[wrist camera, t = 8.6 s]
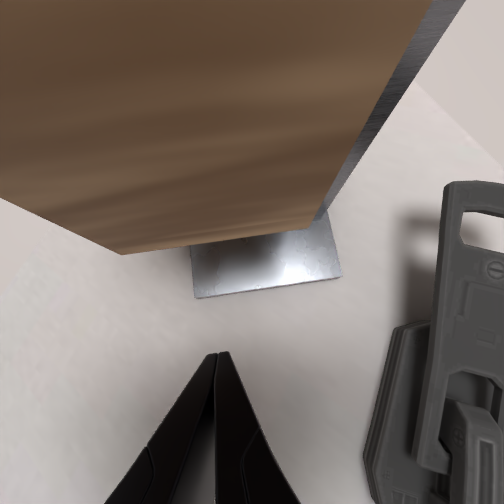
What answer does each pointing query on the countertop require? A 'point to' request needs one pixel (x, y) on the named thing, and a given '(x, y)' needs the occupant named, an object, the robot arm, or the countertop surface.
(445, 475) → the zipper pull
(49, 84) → the cardboard box
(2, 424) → the countertop surface
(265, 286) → the post stand
